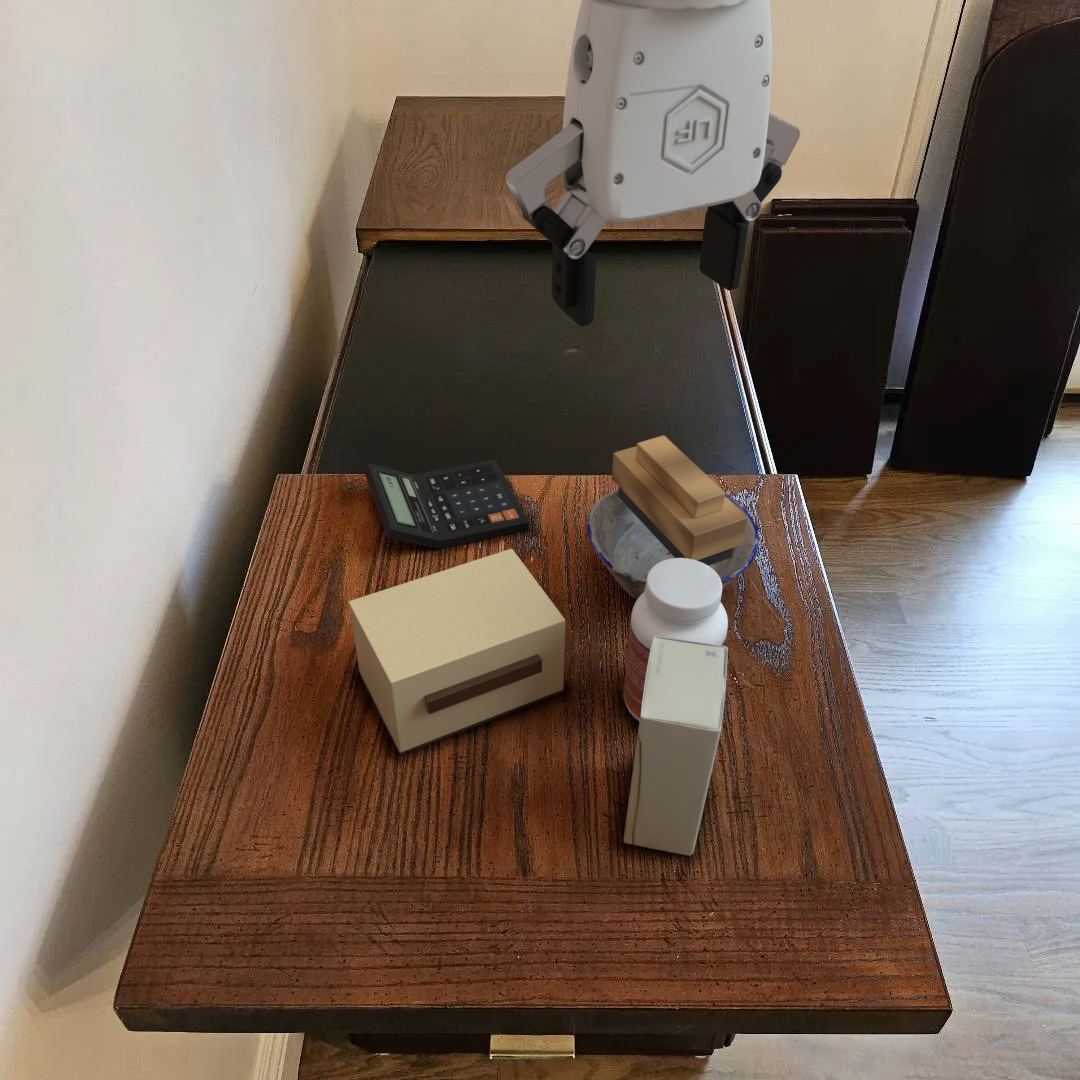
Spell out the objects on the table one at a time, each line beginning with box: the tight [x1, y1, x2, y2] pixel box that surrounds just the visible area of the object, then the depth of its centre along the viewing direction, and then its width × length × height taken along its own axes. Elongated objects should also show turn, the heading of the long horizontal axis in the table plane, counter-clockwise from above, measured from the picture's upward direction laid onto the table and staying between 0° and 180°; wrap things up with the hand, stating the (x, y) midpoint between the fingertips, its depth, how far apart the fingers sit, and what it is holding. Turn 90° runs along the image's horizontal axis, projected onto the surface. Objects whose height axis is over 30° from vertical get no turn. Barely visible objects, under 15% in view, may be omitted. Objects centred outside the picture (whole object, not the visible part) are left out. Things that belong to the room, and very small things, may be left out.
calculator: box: [363, 458, 529, 550], centre depth 83 cm, size 9×12×3 cm
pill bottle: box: [623, 558, 729, 723], centre depth 65 cm, size 6×6×11 cm
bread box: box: [348, 548, 566, 757], centre depth 67 cm, size 9×12×7 cm
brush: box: [611, 434, 748, 566], centre depth 73 cm, size 11×4×6 cm, turn 27°
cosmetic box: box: [623, 636, 729, 856], centre depth 58 cm, size 6×4×12 cm
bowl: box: [586, 487, 760, 601], centre depth 77 cm, size 13×13×5 cm
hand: (648, 297), depth 57 cm, fingers open, 9 cm apart
